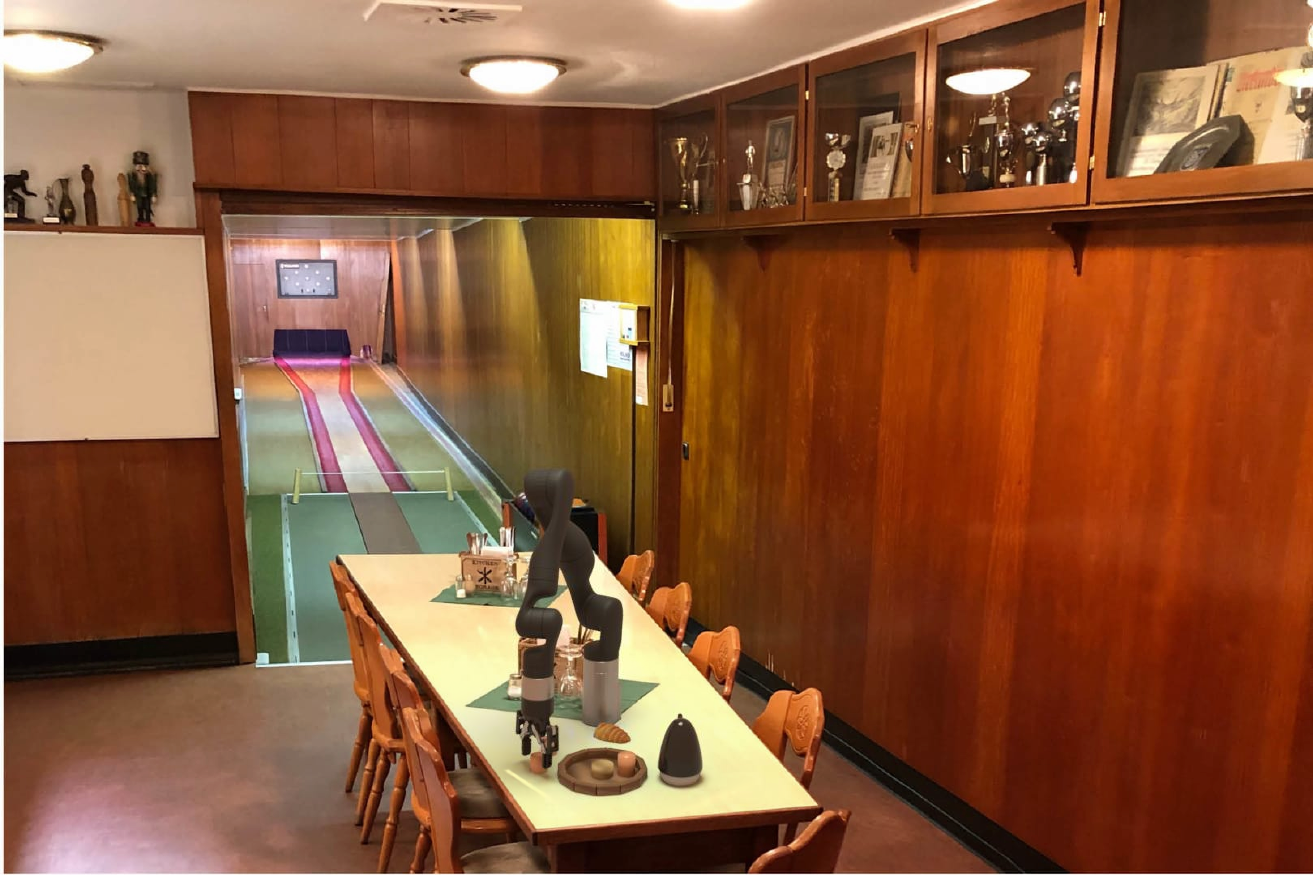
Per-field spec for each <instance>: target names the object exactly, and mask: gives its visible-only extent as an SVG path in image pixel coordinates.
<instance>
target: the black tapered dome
mask: <svg viewBox="0 0 1313 875" xmlns="http://www.w3.org/2000/svg"><path fill="white" fill-rule="evenodd" d="M683 716H684V715H683V714H682V713H679V712H678V714H677V718H674V719H673V720H672V721H671V722H670V724H669V725H668V727H667V728H666V730H665V732H664V736H663V737H662V738H663V739H662V742H661V745H660V750H659V754H658V759H657V768H658V771H659V775H660V777H661V778H662V781H664V782H665V783H666V784H668V785H671V786H676V787H688V786H691V785H693V784H695V783H696V782H697V781H698V779H699V777H700V775H701V773H702V771H703V765H704V764H703V762H704V761H703V756H702V750H701V744H700V741H699V737H698V733H697V731H696V728H695V726H694V725H693V723H692V722H691V721H690V720H689V719H687V718H685V717H683Z"/></svg>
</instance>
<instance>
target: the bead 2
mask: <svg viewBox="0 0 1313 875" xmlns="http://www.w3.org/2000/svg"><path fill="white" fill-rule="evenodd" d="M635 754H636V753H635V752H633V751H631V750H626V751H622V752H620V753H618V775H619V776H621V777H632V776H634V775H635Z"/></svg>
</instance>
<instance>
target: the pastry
mask: <svg viewBox="0 0 1313 875" xmlns="http://www.w3.org/2000/svg"><path fill="white" fill-rule="evenodd" d="M592 737H593V738H594V739H597V740H598V741H602V742H605V743H612V744H618V745H621V744H628V743H629V742H631V736H630V735H629V733H628V732H626V731H625V729H622V728H621V727H620V726H619V725H615V723H614V724H609V725H608V724H607V723H601V724H599V725H598V726H596V728H595V730H594V731H593V735H592Z"/></svg>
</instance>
